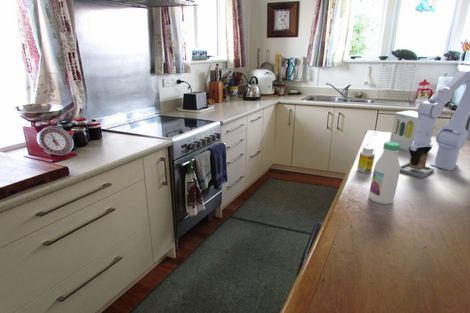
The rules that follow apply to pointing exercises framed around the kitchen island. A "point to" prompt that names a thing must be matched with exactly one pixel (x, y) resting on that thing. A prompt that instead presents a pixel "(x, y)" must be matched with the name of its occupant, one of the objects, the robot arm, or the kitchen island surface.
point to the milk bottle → (385, 175)
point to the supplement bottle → (366, 159)
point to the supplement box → (404, 128)
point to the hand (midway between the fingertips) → (416, 163)
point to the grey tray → (416, 171)
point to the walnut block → (420, 162)
